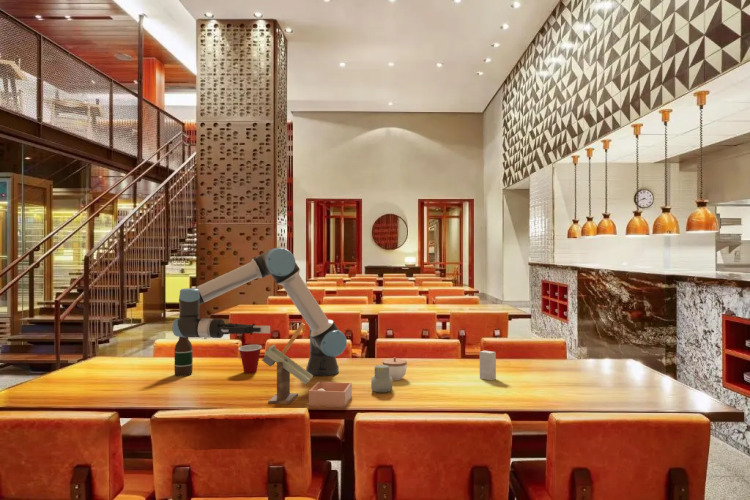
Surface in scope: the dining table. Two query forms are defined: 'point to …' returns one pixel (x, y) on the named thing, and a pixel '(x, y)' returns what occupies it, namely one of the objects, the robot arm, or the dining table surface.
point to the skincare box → (487, 365)
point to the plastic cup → (250, 357)
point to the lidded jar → (396, 368)
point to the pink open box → (330, 394)
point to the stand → (283, 387)
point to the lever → (287, 359)
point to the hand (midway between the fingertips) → (269, 329)
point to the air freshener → (381, 379)
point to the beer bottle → (183, 357)
